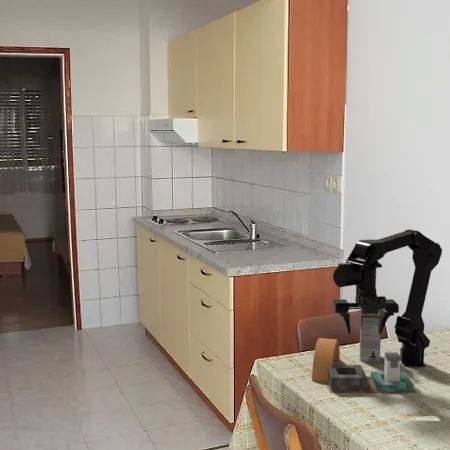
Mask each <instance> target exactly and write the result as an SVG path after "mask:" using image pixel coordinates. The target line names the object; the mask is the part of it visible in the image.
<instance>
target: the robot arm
mask: <svg viewBox="0 0 450 450" xmlns="http://www.w3.org/2000/svg"><path fill="white" fill-rule="evenodd" d="M405 247H407V248H408V249H410V250H411V251H412V260H413V264H414V272H413V276H412V281H411V285H410V289H409V293H408V298H407V303H406V306H405V307H406V308H405V311H404V313H402V315H397V317H396V321H395V324H394V327H393V329H395V330H394V333H395V335H396V338H397V341H398V342H399V343H401V347H400V350H399V352H400V353H399V355H400V357H401V359H400V363H402V364H403V366H404V367H426V364H425V350H426V348H429V346H430V344H431V340H430V339H429V337H428V336H427V335H426V334H425V322H424V319H423V316H422V315H423V310H424V306H425V302H426V296H427V292H428V288H429V283H430V279H431V275H432V271H433V270H434V269H435V268H436V267H437V265H439V264H440V263H439V262H440V260H441V257H442V254H443V249H442V247H441V245H440V243H439V242H438V243H437V242H435V241H433V240H432V239H430V238H429V237H427V236H426V235H424V234H423V233H422V232H420V231H419V230H415V229H405V230H404V231H401V232H398V233H394V234H391V235H389V236H384V237H382V238H379V239H360V240H358V241H356V242H355V245H354V246H353V248H352V250H351V252H350V254H349V255H348V257H347V259H346V260H345V262H346V263H343V262H339V263H338V264H337V268H335V269H334V271H333V272H334V273H333V274H332V277H333V282H334V285H336V286H337V287H338V288H346V287H351V286H355V302H349V301H347V299H343V298H342V299H341V298H340V299H338V298H337V299H334V300H333V301H332V306H331V308H332V309H333V311H334V313H336V314H338V315H339V316H342V317H341V318H342V319H343V321H344V325H345V328H346V331H347V334H348V335H351V321H350V318H351V317H350V316H351V314H350V312H349V311H350V310H360V311H361V310H362V313H363V314H378V313H379V309H380V316H379V334H381V335H382V333H383V330H384V328H385V325H386V324H387V322H388V319H389V318H390V317H391V316H394V315H395V314H399V313H400V305H399V304H398V302H397V301H395V299H392V298H391V299H388V298H386V296H384V295H381V296H378V294H377V269H380V268H383V264H381V263H380V262H379V260H381V259H383V258H384V256H385V255H386V254H387V253H390V252H393V251H396V250H399V249H403V248H405Z"/></svg>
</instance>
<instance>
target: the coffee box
mask: <svg viewBox="0 0 450 450" xmlns="http://www.w3.org/2000/svg"><path fill="white" fill-rule="evenodd" d="M379 316H380V309H379V313H378V314H363V313H362V310H361V309H360V323H359V324H360V327H359V328H360V331H359V334H360V335H359V361H360V362H371V363H380V361H381V360H380V359H381V343H382V341H381V338H382V337H381V336H382V333H381V334H379Z"/></svg>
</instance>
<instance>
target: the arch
mask: <svg viewBox="0 0 450 450" xmlns="http://www.w3.org/2000/svg"><path fill="white" fill-rule="evenodd" d="M340 349H341V347H340V342H339V340H338V339H335V338H322V337H319V338H318V339H317V341H316V344H315V348H314V353H313V361H312V370H311V372H312V373H311V374H312V375H311V381H313V382H323V383H326V382H328V368H332V365H334V364H333V363H334V361H340V360H341V359H340V358H341V353H340V352H341V351H340Z"/></svg>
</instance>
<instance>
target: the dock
mask: <svg viewBox="0 0 450 450" xmlns="http://www.w3.org/2000/svg"><path fill="white" fill-rule="evenodd" d="M325 383H326V386H327V389H328V391H329V393H330V394H417V392H416V390H415V384H414V383H413V381H412V379H411V378H410V377H409V376H408V374H407V373H406V371H400V382H384V370H383V371H381V370H380V371H374V370H373V371H372V370H371V371H370V376H367V375H366V372H365V371H364V369H363V367H362V365H361V364H332V368H328V382H325Z"/></svg>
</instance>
